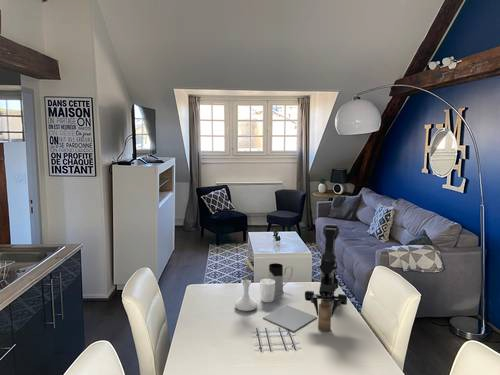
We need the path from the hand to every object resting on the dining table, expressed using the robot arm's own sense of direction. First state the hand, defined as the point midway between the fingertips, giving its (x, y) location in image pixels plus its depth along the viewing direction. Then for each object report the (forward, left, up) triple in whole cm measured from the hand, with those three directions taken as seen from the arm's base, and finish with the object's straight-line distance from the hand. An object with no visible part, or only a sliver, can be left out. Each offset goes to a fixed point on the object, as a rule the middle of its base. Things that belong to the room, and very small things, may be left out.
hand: (324, 316), depth 169 cm
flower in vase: (+8, -41, -7) cm, 42 cm away
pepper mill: (-1, -1, -7) cm, 7 cm away
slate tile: (+2, -18, -7) cm, 19 cm away
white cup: (-6, -39, -7) cm, 40 cm away
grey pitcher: (-19, -41, -7) cm, 45 cm away
